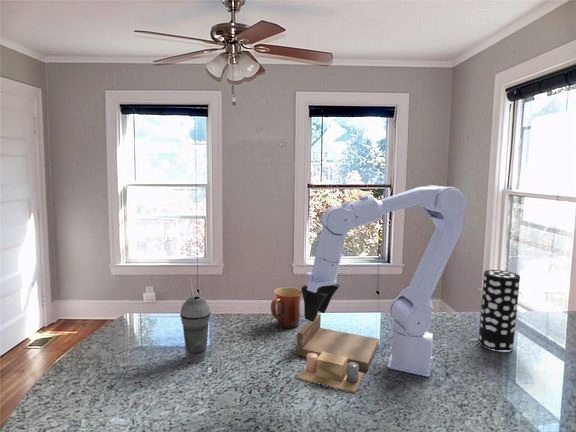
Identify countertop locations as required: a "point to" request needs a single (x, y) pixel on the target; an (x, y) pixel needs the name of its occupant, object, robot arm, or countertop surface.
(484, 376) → the countertop surface
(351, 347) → the light wood stepped block
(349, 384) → the wooden stand
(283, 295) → the mug
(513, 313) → the spotted tube
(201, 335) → the beverage cup
